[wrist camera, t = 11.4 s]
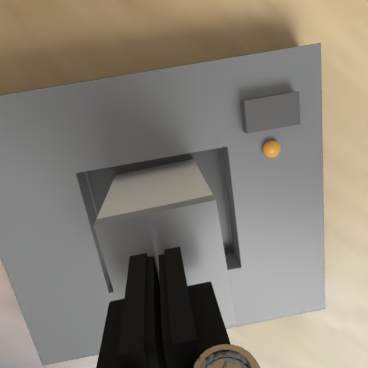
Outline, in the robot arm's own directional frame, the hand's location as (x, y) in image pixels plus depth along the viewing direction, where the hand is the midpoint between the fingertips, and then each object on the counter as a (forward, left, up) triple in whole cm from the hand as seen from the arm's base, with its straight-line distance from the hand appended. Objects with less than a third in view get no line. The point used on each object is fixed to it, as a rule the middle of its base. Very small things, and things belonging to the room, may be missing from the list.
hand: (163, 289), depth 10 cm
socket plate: (0, 0, -7) cm, 7 cm away
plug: (0, 0, -7) cm, 7 cm away
